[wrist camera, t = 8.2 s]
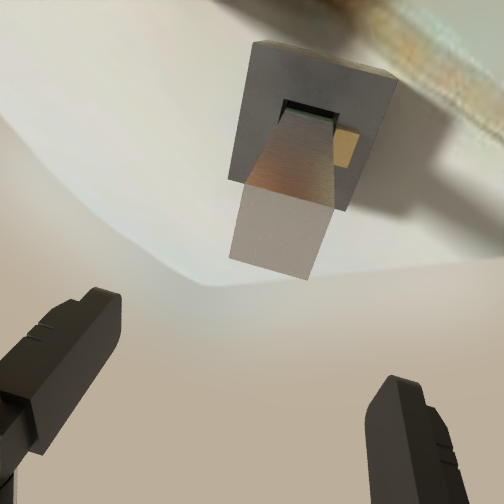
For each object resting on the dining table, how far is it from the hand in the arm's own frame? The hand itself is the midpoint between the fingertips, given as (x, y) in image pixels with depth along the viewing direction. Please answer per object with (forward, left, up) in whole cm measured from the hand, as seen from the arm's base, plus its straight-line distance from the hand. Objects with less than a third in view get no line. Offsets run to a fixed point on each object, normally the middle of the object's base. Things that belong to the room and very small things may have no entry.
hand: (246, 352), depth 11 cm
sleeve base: (0, 0, -34) cm, 34 cm away
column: (0, 0, -25) cm, 25 cm away
